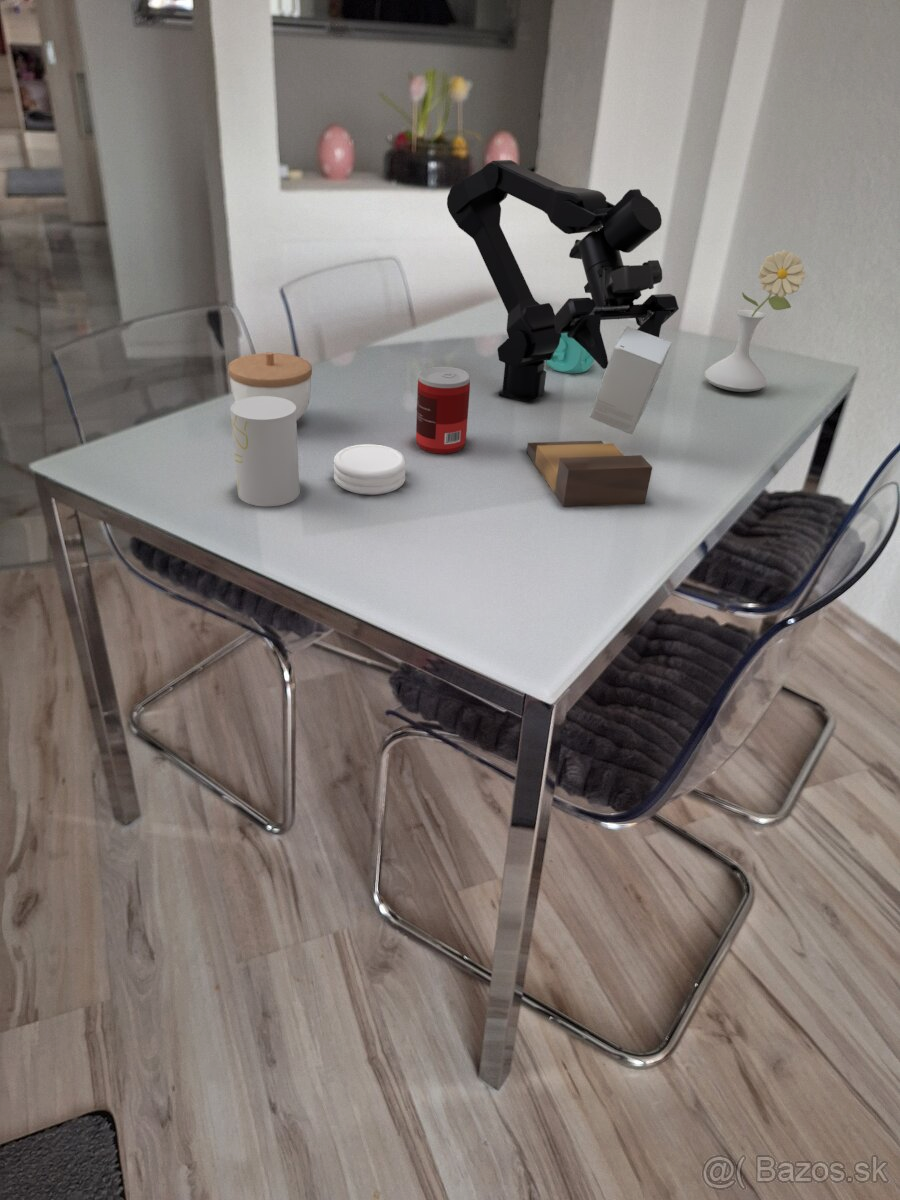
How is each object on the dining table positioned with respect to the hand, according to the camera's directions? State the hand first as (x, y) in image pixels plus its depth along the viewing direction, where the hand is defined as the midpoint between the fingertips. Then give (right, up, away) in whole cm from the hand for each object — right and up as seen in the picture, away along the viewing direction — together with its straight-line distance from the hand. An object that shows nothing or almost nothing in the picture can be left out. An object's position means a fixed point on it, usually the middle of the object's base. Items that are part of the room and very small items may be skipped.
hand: (630, 365), depth 128 cm
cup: (-51, -21, -12) cm, 57 cm away
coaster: (-38, -18, -7) cm, 43 cm away
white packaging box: (-1, -6, +6) cm, 8 cm away
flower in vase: (+28, +5, +35) cm, 45 cm away
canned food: (-28, -11, +5) cm, 31 cm away
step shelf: (-7, -17, -2) cm, 19 cm away
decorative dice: (-4, +11, +40) cm, 41 cm away
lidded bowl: (-55, -7, +8) cm, 56 cm away
